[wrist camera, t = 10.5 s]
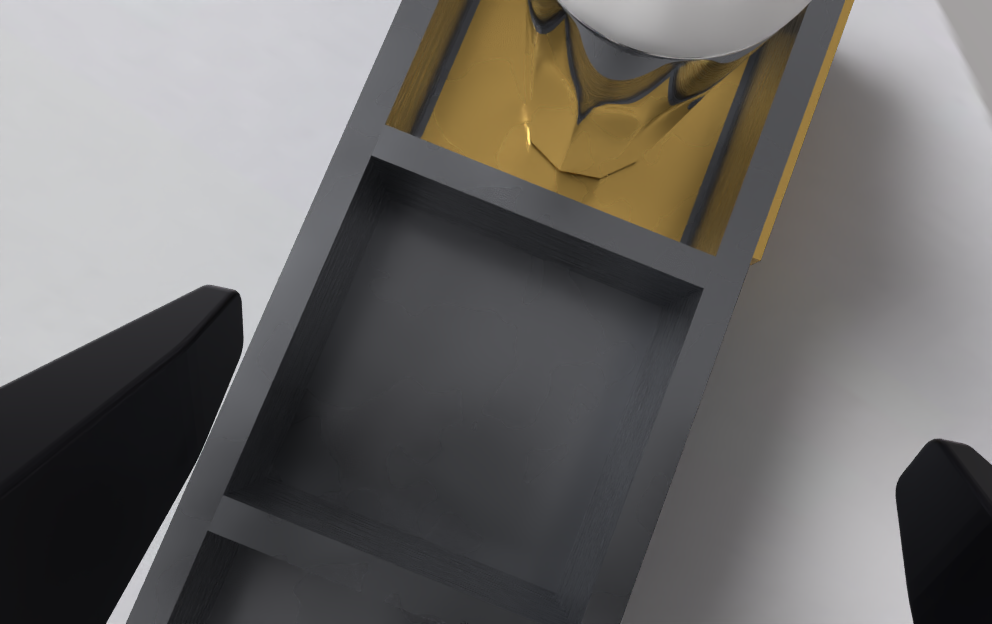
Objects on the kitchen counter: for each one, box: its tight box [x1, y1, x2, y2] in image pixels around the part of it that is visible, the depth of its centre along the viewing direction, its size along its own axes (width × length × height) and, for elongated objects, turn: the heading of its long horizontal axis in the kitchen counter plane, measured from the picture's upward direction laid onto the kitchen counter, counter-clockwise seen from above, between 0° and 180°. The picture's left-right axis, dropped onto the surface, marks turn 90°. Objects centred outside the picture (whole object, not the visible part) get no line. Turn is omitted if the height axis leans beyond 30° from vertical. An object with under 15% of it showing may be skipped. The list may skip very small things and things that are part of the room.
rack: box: [126, 0, 854, 624], centre depth 16 cm, size 24×9×4 cm, turn 158°
